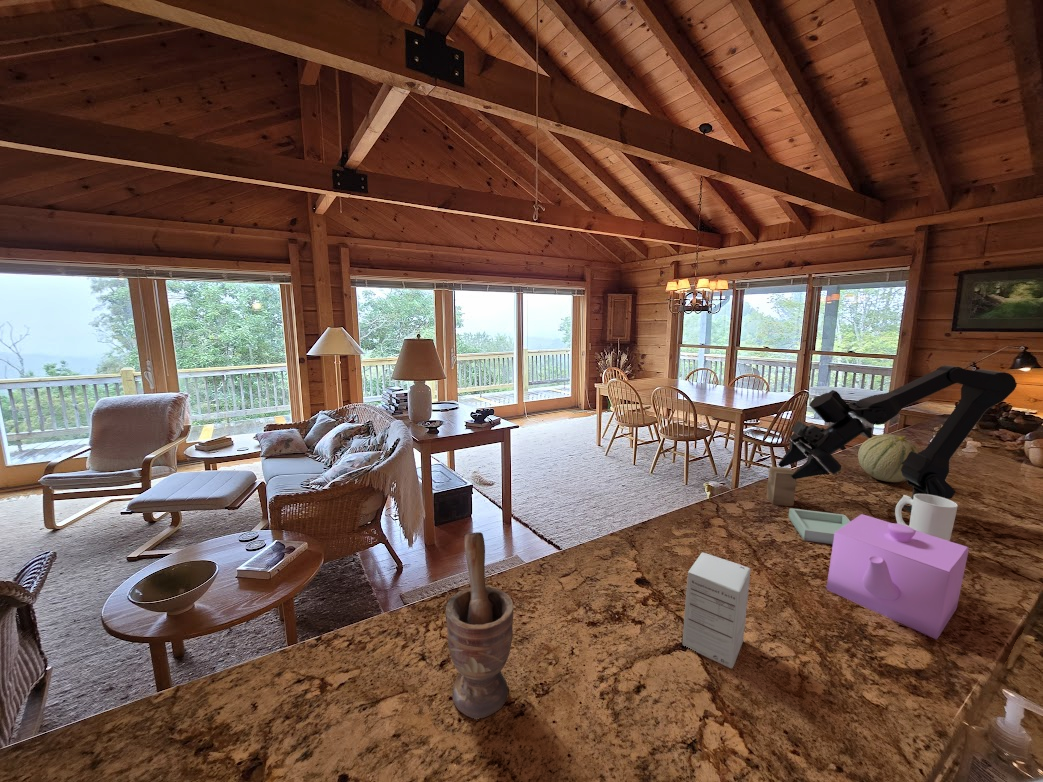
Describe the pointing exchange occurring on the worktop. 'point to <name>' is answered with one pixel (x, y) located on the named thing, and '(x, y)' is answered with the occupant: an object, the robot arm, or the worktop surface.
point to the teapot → (898, 572)
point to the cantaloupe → (885, 456)
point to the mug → (929, 514)
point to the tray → (817, 524)
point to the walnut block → (781, 486)
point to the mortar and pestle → (479, 637)
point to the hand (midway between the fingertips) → (785, 471)
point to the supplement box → (716, 608)
